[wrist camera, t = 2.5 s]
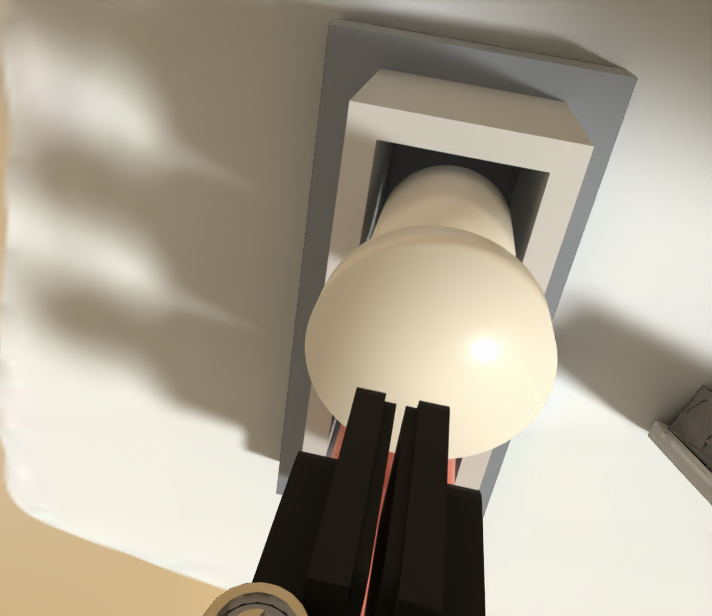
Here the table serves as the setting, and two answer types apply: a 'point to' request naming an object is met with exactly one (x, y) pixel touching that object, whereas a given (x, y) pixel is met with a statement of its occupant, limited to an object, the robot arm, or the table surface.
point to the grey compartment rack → (447, 147)
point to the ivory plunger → (437, 315)
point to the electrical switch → (690, 442)
